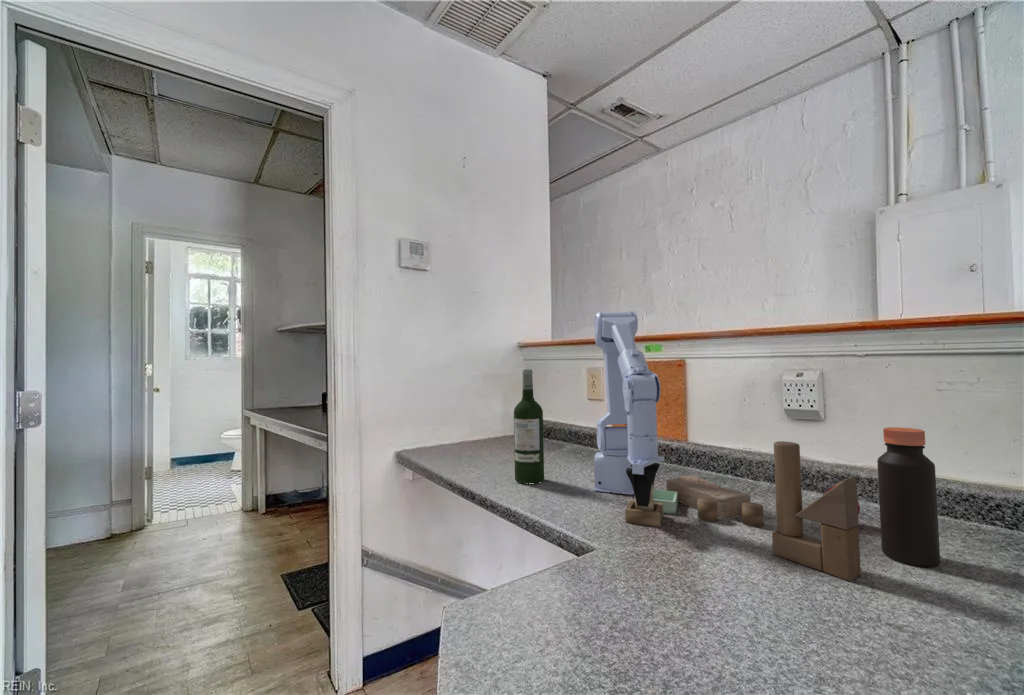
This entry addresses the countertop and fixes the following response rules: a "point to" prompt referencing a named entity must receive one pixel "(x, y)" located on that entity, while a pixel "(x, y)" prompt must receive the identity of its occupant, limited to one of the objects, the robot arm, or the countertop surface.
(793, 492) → the wooden block
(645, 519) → the socket block
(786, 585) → the countertop surface
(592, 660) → the countertop surface
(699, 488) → the brick
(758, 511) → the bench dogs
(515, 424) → the wine bottle
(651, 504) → the dowel
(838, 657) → the countertop surface
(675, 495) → the tray
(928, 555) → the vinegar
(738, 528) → the countertop surface
